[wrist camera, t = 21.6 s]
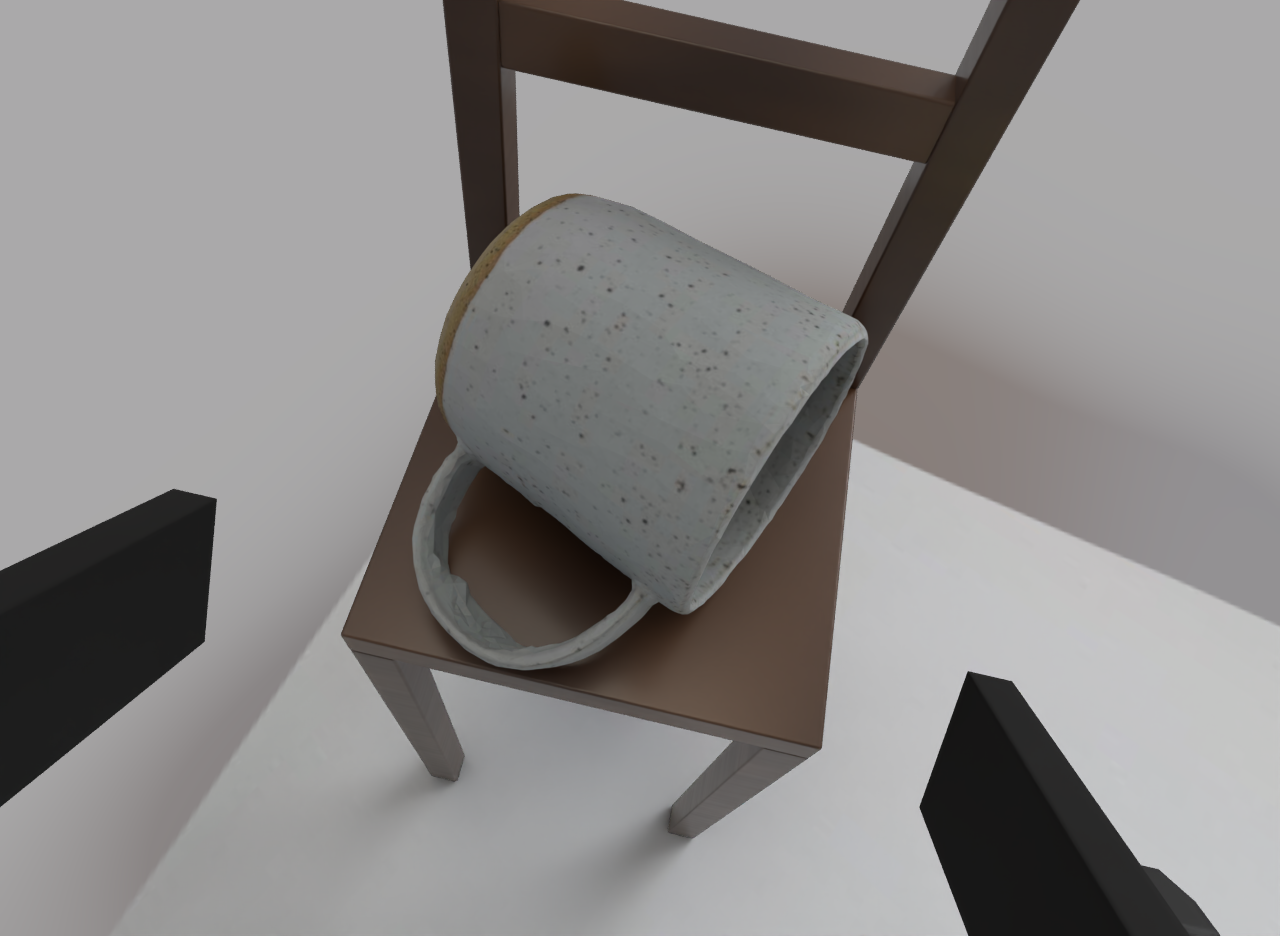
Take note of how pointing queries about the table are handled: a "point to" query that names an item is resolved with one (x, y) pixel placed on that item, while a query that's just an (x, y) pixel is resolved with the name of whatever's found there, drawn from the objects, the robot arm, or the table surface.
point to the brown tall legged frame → (815, 507)
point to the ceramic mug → (626, 407)
